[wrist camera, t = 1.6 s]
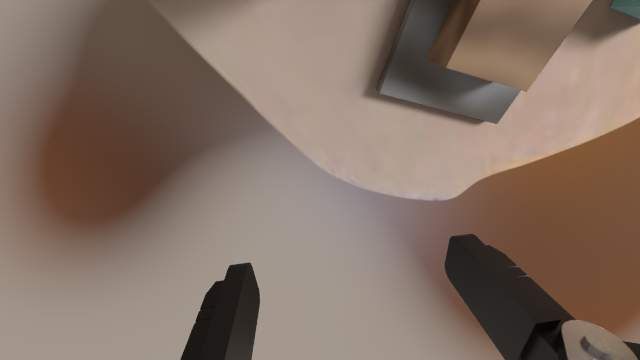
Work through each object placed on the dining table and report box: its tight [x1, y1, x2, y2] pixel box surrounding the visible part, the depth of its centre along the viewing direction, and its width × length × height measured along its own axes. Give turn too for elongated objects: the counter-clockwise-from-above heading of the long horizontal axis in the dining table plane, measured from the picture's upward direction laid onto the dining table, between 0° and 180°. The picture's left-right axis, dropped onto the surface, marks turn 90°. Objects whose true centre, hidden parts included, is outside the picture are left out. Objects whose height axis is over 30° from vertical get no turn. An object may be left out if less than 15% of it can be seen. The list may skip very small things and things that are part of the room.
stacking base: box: [377, 0, 592, 124], centre depth 23 cm, size 18×16×6 cm
